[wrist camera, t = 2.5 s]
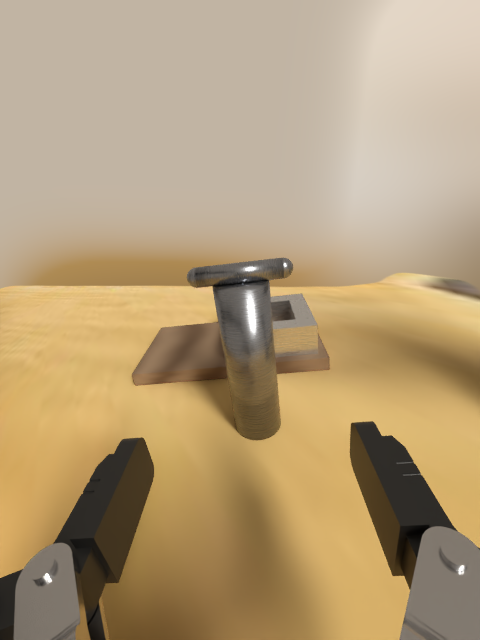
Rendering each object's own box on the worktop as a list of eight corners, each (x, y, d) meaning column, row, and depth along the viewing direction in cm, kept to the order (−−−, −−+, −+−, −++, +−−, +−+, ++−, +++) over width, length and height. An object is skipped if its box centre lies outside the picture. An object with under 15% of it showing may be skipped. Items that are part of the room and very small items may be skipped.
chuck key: (214, 442, 24) (178, 277, 18) (219, 409, 28) (190, 262, 22) (303, 437, 23) (297, 263, 17) (296, 403, 27) (288, 250, 21)
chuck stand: (135, 385, 33) (122, 347, 31) (163, 336, 44) (155, 306, 42) (329, 369, 31) (329, 328, 29) (308, 322, 42) (307, 290, 40)
